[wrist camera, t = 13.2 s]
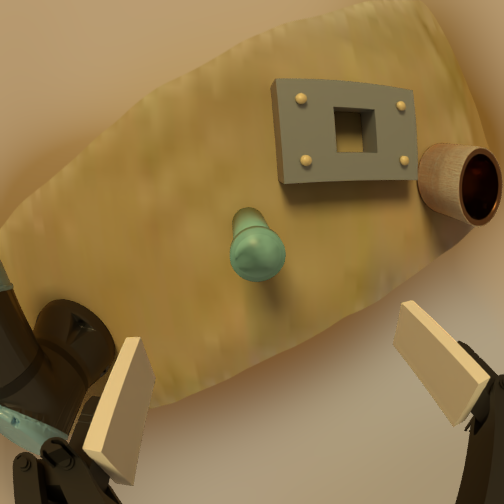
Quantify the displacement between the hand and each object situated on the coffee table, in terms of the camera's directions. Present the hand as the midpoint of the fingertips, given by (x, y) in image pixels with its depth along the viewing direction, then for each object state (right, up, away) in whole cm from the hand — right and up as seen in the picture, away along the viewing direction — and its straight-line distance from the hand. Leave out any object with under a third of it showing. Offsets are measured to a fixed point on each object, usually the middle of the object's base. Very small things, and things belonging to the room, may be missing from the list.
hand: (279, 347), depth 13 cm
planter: (+28, +16, +23) cm, 39 cm away
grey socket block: (+10, +20, +20) cm, 30 cm away
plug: (-2, +8, +23) cm, 24 cm away
